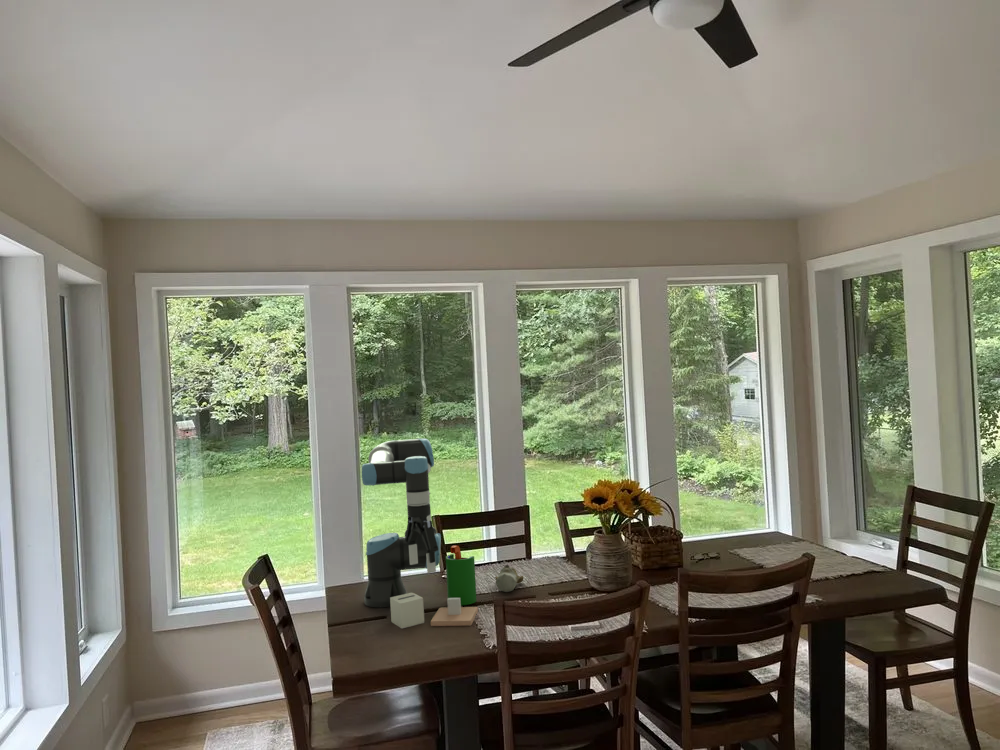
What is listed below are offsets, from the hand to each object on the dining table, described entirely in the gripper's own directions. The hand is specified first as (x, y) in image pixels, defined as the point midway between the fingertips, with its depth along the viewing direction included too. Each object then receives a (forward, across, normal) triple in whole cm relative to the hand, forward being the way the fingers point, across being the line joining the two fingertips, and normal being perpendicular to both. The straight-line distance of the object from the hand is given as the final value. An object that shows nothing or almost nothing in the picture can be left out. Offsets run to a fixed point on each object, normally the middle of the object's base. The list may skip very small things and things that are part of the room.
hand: (422, 568), depth 236 cm
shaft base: (+16, -8, -7) cm, 19 cm away
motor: (+16, +6, -17) cm, 24 cm away
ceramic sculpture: (+17, +9, -38) cm, 42 cm away
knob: (+16, -1, +7) cm, 18 cm away
